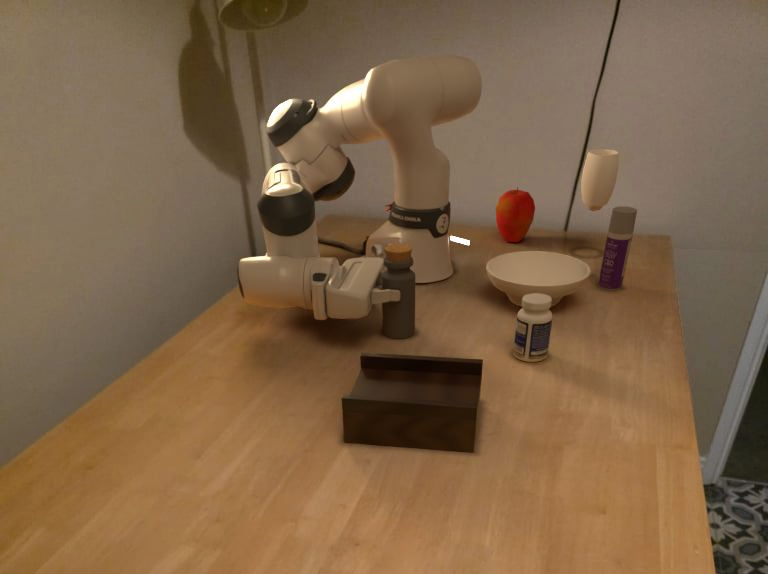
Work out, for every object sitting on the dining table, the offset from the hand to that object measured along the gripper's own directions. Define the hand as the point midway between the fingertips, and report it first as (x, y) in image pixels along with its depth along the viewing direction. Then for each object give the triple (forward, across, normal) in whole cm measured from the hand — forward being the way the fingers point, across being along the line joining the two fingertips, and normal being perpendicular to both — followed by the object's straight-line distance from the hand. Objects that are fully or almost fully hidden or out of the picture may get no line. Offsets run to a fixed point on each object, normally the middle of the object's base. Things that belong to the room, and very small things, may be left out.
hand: (403, 287), depth 116 cm
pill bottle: (+23, +6, -9) cm, 25 cm away
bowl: (+23, -17, -8) cm, 30 cm away
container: (+39, -27, -8) cm, 48 cm away
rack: (+6, +30, -8) cm, 32 cm away
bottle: (-1, 0, -8) cm, 9 cm away
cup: (+36, -49, -8) cm, 61 cm away
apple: (+18, -56, -8) cm, 60 cm away
